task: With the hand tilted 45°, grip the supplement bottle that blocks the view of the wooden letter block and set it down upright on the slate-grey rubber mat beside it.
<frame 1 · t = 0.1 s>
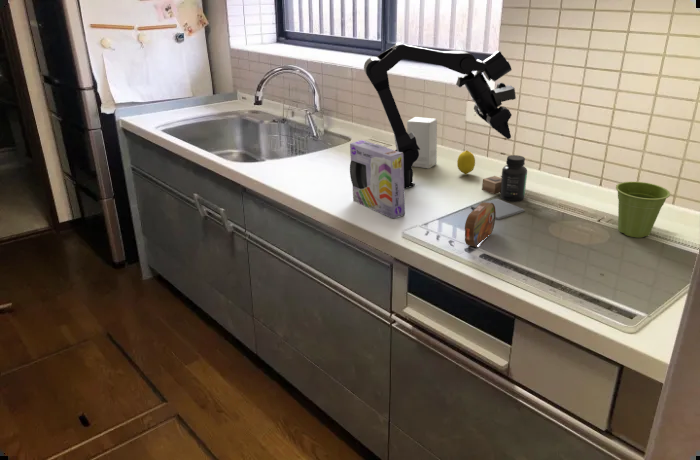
hand: (504, 134, 175), 15 cm above the worktop, tool tilted 35°, fingers open, 9 cm apart
tin: (478, 240, 143), on the worktop
wooden letter block: (494, 190, 174), on the worktop
supplement bottle: (511, 198, 168), on the worktop
skincare box: (421, 165, 197), on the worktop
slate mat: (497, 209, 160), on the worktop
cake pan box: (376, 208, 163), on the worktop
lemon: (465, 175, 187), on the worktop
plant pot: (634, 233, 145), on the worktop
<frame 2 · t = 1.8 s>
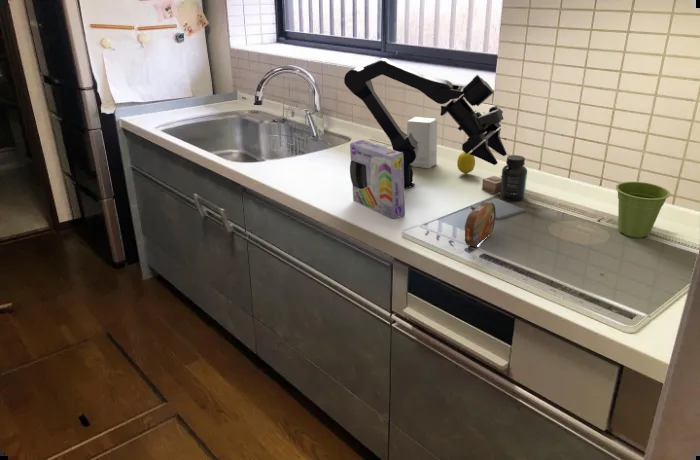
hand: (501, 159, 165), 11 cm above the worktop, tool tilted 45°, fingers open, 9 cm apart
nothing on the worktop moved.
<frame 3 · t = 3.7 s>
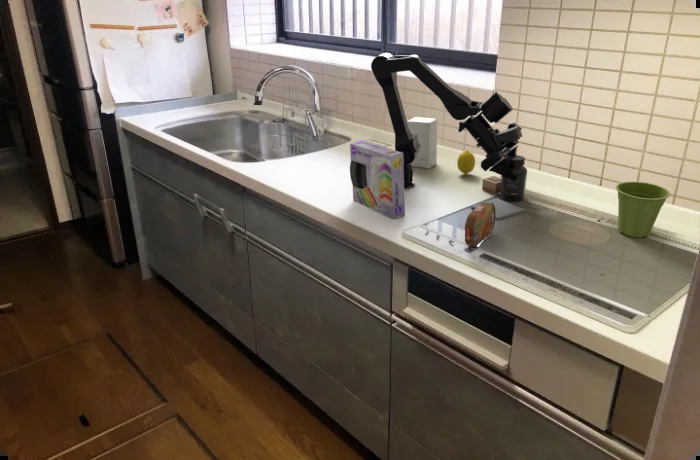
hand: (519, 176, 165), 7 cm above the worktop, tool tilted 45°, fingers closed on supplement bottle, 7 cm apart
supplement bottle: (511, 198, 168), on the worktop, touching gripper
everything else where it was.
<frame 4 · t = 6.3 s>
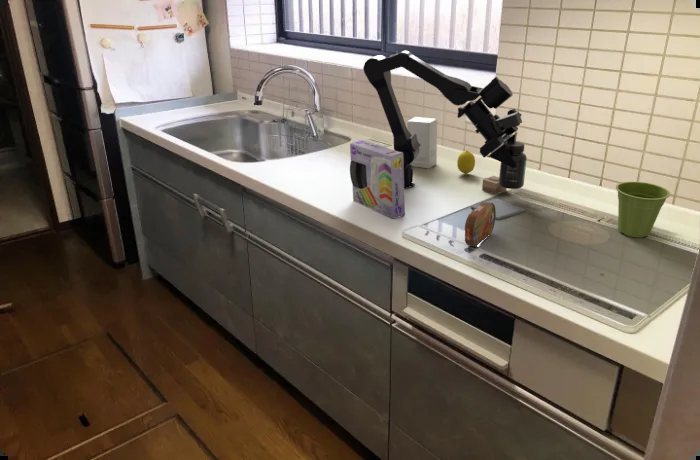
hand: (518, 163, 162), 11 cm above the worktop, tool tilted 45°, fingers closed on supplement bottle, 7 cm apart
supplement bottle: (510, 185, 165), point 4 cm above the worktop, touching gripper
everything else where it was.
when the fingers open (8 cm above the worktop, at t = 8.9 s): supplement bottle stays where it is, resting on slate mat.
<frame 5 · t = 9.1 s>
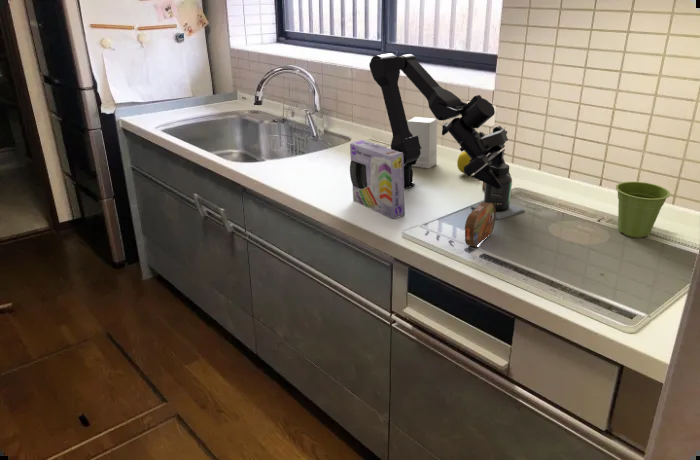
hand: (504, 182, 156), 8 cm above the worktop, tool tilted 45°, fingers open, 9 cm apart
supplement bottle: (496, 208, 160), resting on slate mat
everything else where it was.
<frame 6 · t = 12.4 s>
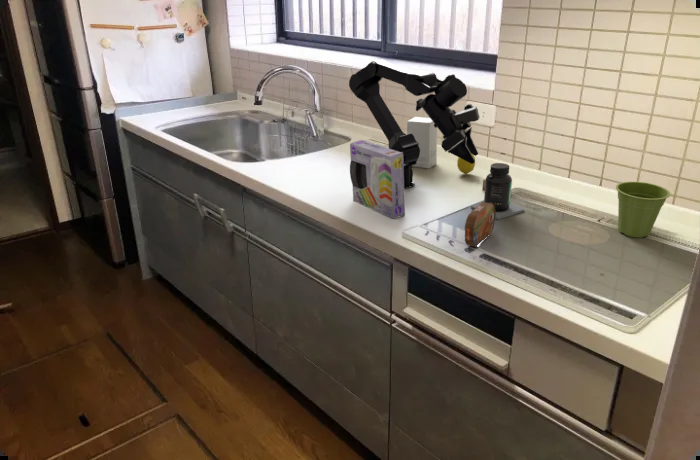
hand: (475, 158, 162), 12 cm above the worktop, tool tilted 40°, fingers open, 9 cm apart
nothing on the worktop moved.
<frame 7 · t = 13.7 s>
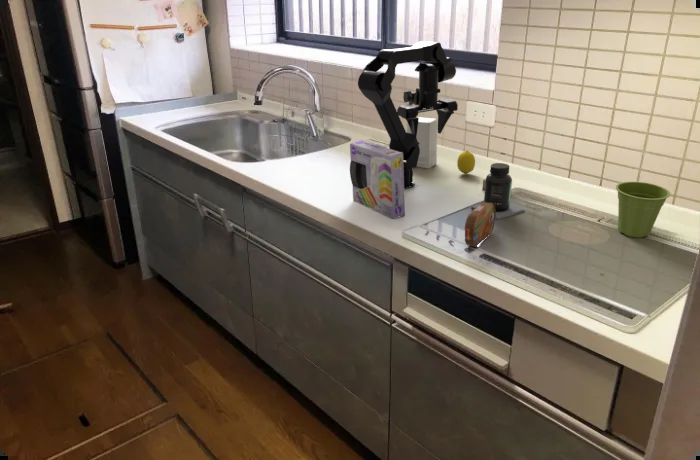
hand: (427, 135, 183), 13 cm above the worktop, tool pointing down, fingers open, 9 cm apart
nothing on the worktop moved.
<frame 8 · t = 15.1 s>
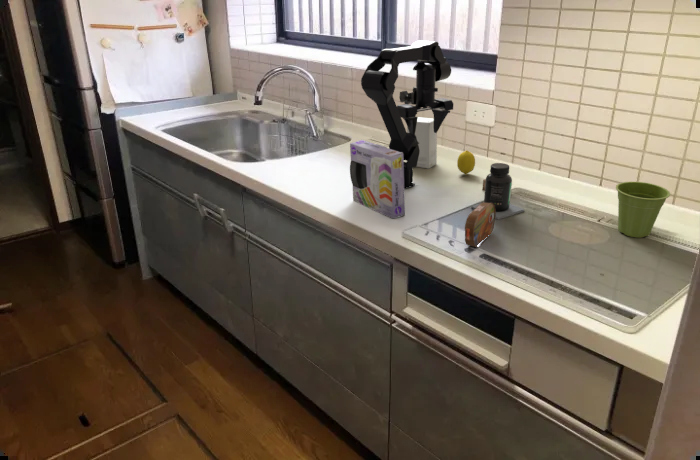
hand: (423, 134, 183), 13 cm above the worktop, tool pointing down, fingers open, 9 cm apart
nothing on the worktop moved.
at the end: supplement bottle inside the target area on the slate mat (0.3 cm from its centre), point 0.4 cm above the slate mat's base; supplement bottle tilted 0°; wooden letter block moved 0.2 cm from its start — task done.
